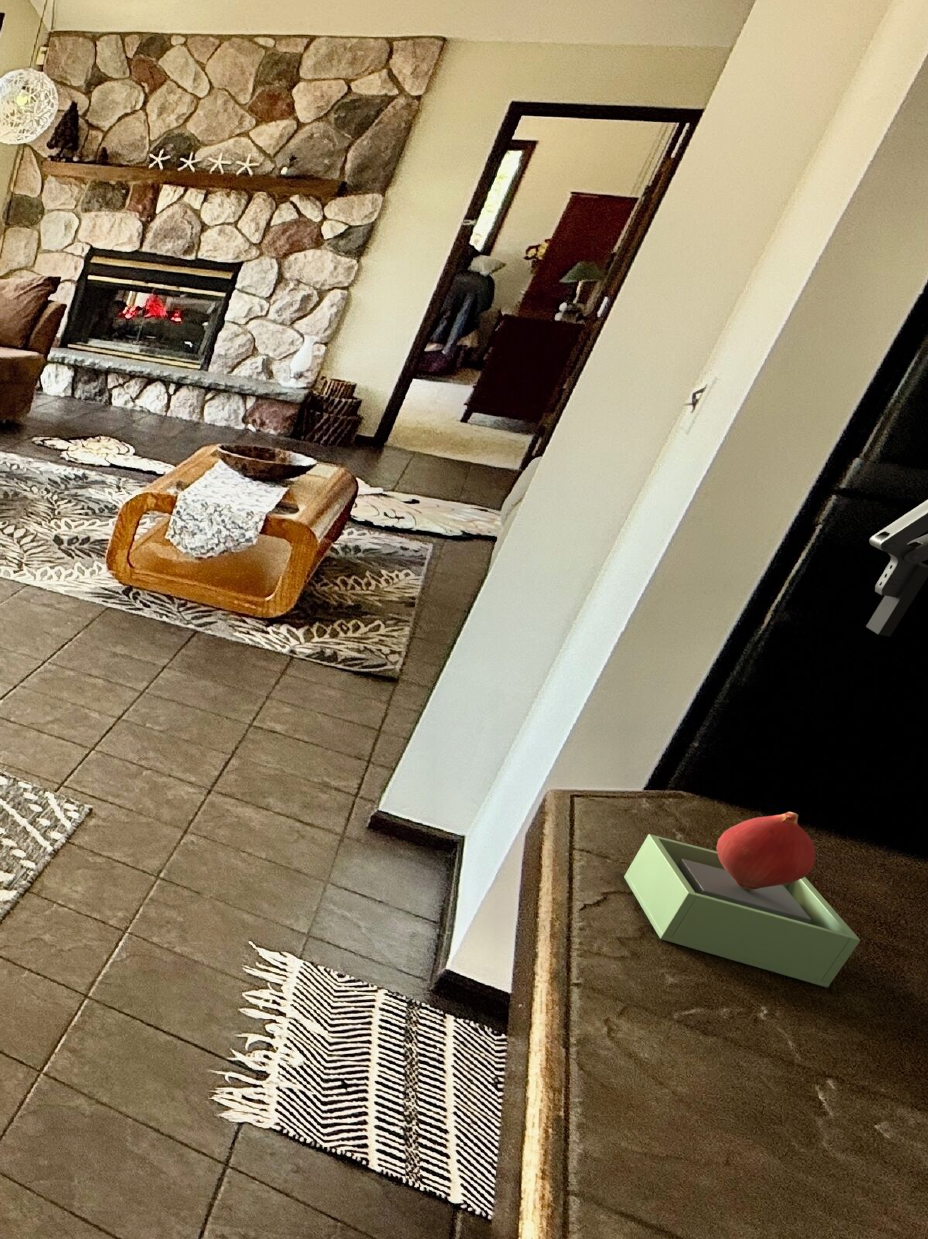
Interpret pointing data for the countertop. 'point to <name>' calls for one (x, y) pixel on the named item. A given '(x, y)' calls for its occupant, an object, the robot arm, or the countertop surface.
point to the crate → (738, 918)
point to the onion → (766, 851)
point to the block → (741, 891)
